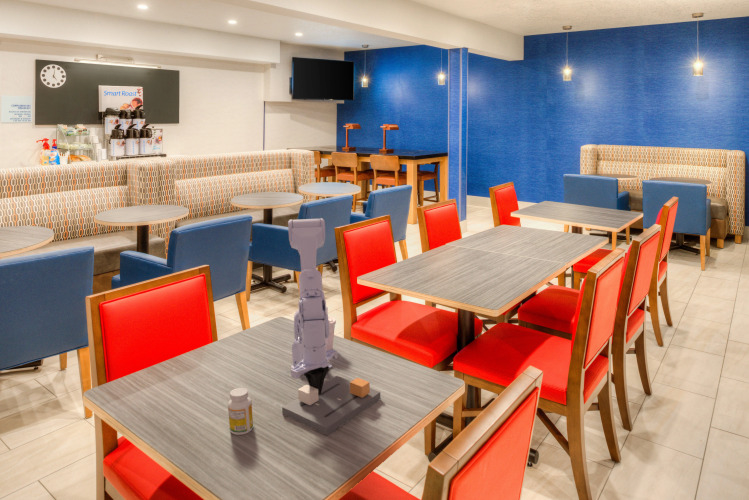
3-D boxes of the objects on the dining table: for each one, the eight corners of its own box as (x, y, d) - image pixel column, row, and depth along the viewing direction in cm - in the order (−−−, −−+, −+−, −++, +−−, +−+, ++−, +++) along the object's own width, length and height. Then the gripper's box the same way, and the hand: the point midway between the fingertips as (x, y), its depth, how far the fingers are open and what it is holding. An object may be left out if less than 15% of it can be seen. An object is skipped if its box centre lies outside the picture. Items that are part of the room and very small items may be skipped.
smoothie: (333, 354, 161) (332, 311, 158) (313, 352, 163) (311, 310, 159) (339, 345, 168) (337, 304, 164) (319, 344, 169) (318, 303, 165)
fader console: (282, 414, 129) (282, 406, 129) (337, 382, 144) (336, 375, 144) (327, 435, 120) (327, 427, 120) (380, 399, 135) (380, 392, 135)
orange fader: (350, 392, 134) (349, 382, 133) (357, 388, 136) (357, 377, 135) (362, 397, 131) (361, 386, 131) (369, 392, 134) (369, 382, 133)
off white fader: (298, 400, 131) (297, 389, 130) (307, 395, 133) (306, 384, 132) (310, 405, 128) (309, 394, 128) (318, 400, 131) (318, 389, 130)
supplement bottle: (239, 438, 120) (235, 400, 117) (225, 430, 123) (221, 392, 121) (258, 427, 124) (255, 391, 121) (244, 420, 127) (241, 383, 125)
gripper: (304, 358, 121) (307, 410, 125) (345, 337, 132) (347, 386, 136) (283, 350, 126) (286, 401, 129) (325, 331, 137) (327, 378, 140)
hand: (316, 393), depth 133 cm, fingers closed
